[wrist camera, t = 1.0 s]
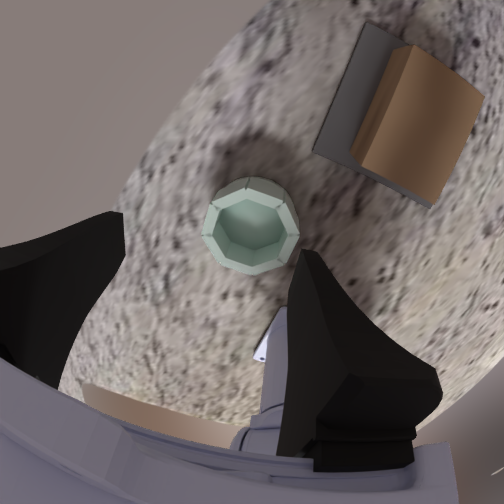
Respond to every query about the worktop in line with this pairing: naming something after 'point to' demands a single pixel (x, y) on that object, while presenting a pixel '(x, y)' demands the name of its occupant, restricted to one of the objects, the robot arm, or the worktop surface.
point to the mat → (359, 103)
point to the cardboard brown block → (417, 123)
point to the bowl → (251, 225)
